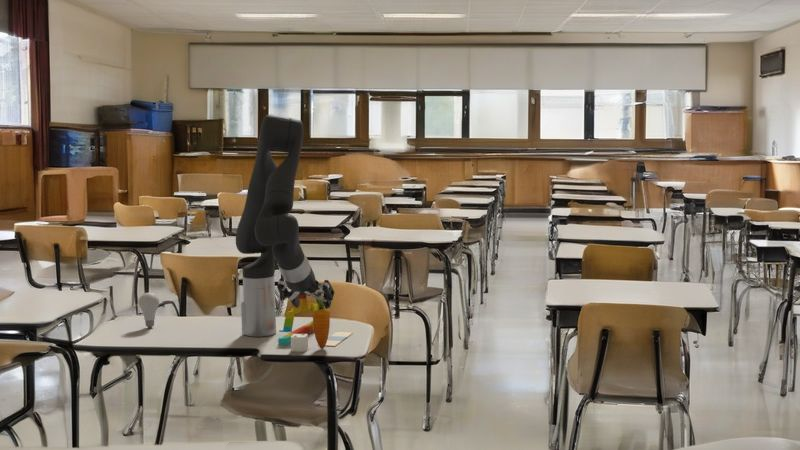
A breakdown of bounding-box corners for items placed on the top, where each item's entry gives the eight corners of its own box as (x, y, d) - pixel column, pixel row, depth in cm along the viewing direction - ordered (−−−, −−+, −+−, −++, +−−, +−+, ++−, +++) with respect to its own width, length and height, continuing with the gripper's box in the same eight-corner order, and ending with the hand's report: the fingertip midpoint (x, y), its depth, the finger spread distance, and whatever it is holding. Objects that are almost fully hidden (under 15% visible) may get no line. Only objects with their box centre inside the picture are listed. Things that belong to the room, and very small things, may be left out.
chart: (319, 322, 292) (317, 275, 291) (328, 323, 291) (327, 275, 290) (277, 345, 263) (276, 293, 262) (288, 346, 262) (286, 293, 261)
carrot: (317, 346, 260) (316, 293, 259) (334, 347, 259) (332, 294, 257) (310, 350, 256) (308, 296, 254) (326, 351, 254) (325, 297, 252)
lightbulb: (144, 331, 283) (143, 295, 282) (136, 327, 288) (134, 292, 287) (163, 328, 287) (162, 292, 286) (155, 324, 292) (153, 290, 291)
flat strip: (317, 345, 261) (317, 344, 261) (336, 332, 277) (336, 331, 277) (334, 346, 260) (334, 345, 260) (353, 333, 276) (353, 332, 276)
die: (291, 351, 255) (290, 336, 255) (293, 348, 259) (293, 333, 259) (305, 351, 255) (305, 336, 255) (308, 348, 259) (307, 333, 259)
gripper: (325, 258, 238) (341, 294, 250) (273, 257, 242) (291, 293, 254) (319, 282, 233) (335, 318, 246) (266, 281, 237) (284, 316, 249)
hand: (312, 305), depth 250 cm, fingers open, 8 cm apart
